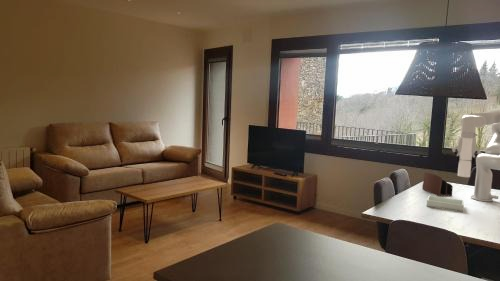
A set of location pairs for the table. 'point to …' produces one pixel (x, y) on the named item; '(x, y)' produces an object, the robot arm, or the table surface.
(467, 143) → the cylindrical container
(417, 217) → the table surface
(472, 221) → the table surface
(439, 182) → the letter holder
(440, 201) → the tray
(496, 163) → the robot arm
